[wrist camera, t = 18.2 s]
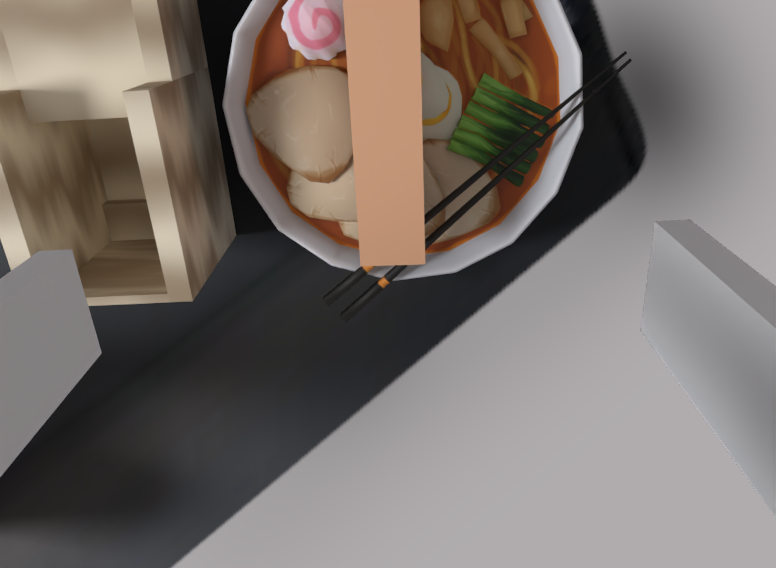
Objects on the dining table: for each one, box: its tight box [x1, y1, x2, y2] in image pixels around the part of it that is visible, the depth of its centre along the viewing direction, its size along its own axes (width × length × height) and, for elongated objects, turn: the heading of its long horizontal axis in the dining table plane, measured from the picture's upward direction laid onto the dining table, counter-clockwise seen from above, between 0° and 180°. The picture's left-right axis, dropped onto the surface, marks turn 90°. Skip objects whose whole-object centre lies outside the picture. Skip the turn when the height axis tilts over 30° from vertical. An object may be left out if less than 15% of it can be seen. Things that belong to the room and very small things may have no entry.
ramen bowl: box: [222, 0, 631, 322], centre depth 43 cm, size 25×23×8 cm
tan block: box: [343, 0, 425, 266], centre depth 37 cm, size 20×4×4 cm, turn 3°
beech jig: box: [0, 0, 236, 306], centre depth 41 cm, size 24×11×12 cm, turn 3°
